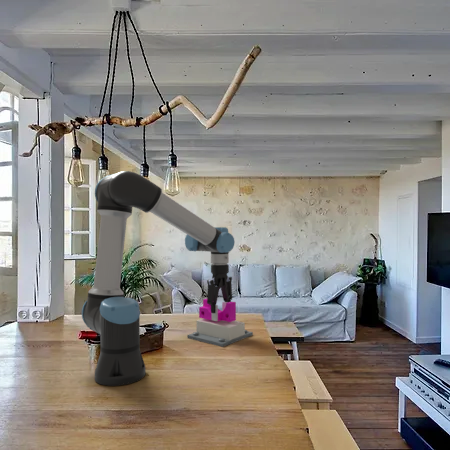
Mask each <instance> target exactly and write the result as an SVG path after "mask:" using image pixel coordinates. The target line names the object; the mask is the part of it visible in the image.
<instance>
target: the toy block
mask: <svg viewBox="0 0 450 450" xmlns="http://www.w3.org/2000/svg"><path fill="white" fill-rule="evenodd" d="M236 304H237V303H236V301H231V302H228V303H226V307H225V309H224V310H223V311H222V310H221V309H219V308H218V321H221V320H223V321H228V322H232V321H237V305H236ZM198 315H199V316H198V318H199V319H208V320H212V313H211V305H210V304H207V298H203V300H202V306H199V307H198Z"/></svg>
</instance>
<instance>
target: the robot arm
mask: <svg viewBox="0 0 450 450" xmlns="http://www.w3.org/2000/svg"><path fill="white" fill-rule="evenodd" d="M94 197H95V200H96V202H97V210H96V212H97V214H99V216H100V225H99V232H98V241H97V250H96V251H97V252H96V261H95V270H94V271H95V272H94V279H93V280H94V281H93V286H92V287H91V288H90V289H89V290H88V292H87V299H86V301H84V304H83V305H82V308H81V318H82V321H83V322H84V324H85V325H86V327H87V328H89V329H90V330H91V331H93V332H95V333H97V334H98V335H100V352H99V353H100V354H99V357H98V360H97V363H96V367H95V370H94V381H95V383H97V384H99V385H102V386H108V387H109V386H114V387H115V386H124V385H129V384H133V383H135V382H136V383H137V382H138V381H140V380H141V379H143V378H144V377H145V375H146V364H145V361H144V358H143V355H142V352H141V349H140V343H141V341H140V340H141V339H140V333H141V332H140V331H141V330H140V328H141V327H140V326H141V325H140V323H141V321H140V319H141V318H140V317H141V311H140V304H139V302H138V301H137V300H136V299H134V298H132V297H125V296H124V295H125V294H124V291H123V290H122V289H121V279H122V278H121V277H122V268H123V260H124V250H125V249H124V248H125V241H126V240H125V239H126V230H127V222H128V218H129V217H130V216H132V215H133V208H136V209H138V210H140V211H142V212H144V213H146V214H147V213H151V214H153V215H154V216H155V217H158V218H160V219H161V220H162V221H164V222H166V223H167V224H170V225H171V226H173V227H175V228H176V229H177V230H179V231H181V232H182V233H185V234H186V235H185V238H184V246H185V248H186V249H187V251H189V252H210V263H211V265H210V273H211V274H212V276H211V279H207V280H206V281H207V282H206V284H207V298H206V299H207V304H210V305H211V313H212V321H218V309H219V308H218V307H219V305H218V304H217V303H218V302H217V301H218V297H219V292H220V291H221V295H222V300H223V301H222V302H221V304H222V305H221V306H222V307H221V309H222V310H221V311H223V310H224V309H225V307H226V303H228V302H232V300H233V289H232V288H233V287H232V280H233V277H232V276H228V274H229V273H230V267H229V257H230V256H229V253H230V252H231V251H232V250H233V249H234V246H235V237H234V236H233V235H232V233H230V232H229V229H228V227H226V226H225V227H223V226H220V227H217V226H214V225H212V224H210V223H208V222H207V221H206V220H204V219H202V218H201V217H199V216H198V215H197V214H195V213H193V212H192V211H191V210H189V209H187V208H186V207H185V206H183V205H182V204H180V203H179V202H177V201H175V200H174V199H173V198H171V197H170V196H168V195H167V194H166V193H163V189H162V187H160V186H158V185H157V184H155V183H154V182H152V181H151V180H149V179H148V178H146V177H145V176H143V175H141V174H139V173H137V172H134V171H130V170H122V171H119V172H117V173H111V174H108V175H105V176H104V177H102V178H101V179H100V180H99V181H98V182H97V184H96V185H95V188H94Z"/></svg>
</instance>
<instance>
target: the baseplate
mask: <svg viewBox="0 0 450 450" xmlns="http://www.w3.org/2000/svg"><path fill="white" fill-rule="evenodd" d="M195 323H196V331H194V332H192V333H189V334H187V335H186V338H187V339H191V340H193V341H198V342H202V343H205V344H210V345H214V346H217V347H222V348H223V347H226V346H229V345H231V344H233V343H236V342H238V341H241V340H243V339H246V338H249V337H251V336H253V335H254V333H253V331H248V330H247V329H245V328H246V326H245V325H246V323H245V321H238V320H235V321H232V322H228V321H223V320H221V321H212V320H208V319H203V318H200V319H197V320H196V322H195Z"/></svg>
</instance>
